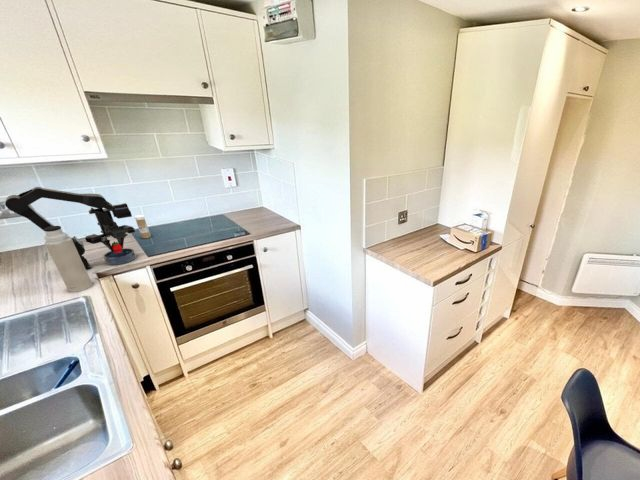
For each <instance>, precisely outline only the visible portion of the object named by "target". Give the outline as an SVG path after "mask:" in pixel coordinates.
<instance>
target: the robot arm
mask: <svg viewBox="0 0 640 480" xmlns="http://www.w3.org/2000/svg"><path fill="white" fill-rule="evenodd" d="M40 199H49V200H56V201H63V202H71V203H78V204H82V205H85V206H88V207H90V209H89V210H88V214H89V215H93V214H94V216H95V218H96V220H97V221H96V224H97V226H99V228H100V233H101V234H96V233H93V234H90V235H89V234H88V235H86V236H85V238H84V239H85V241H86V243H89V244H92V245H94V244H98V243H102V244H103V245H104V246H105V247H106V248H107V249H108V250H109V251H112V252H113V248H112V243H111V241H110V239H108V238H111V237H112V238H113V239H116V241H117V242H118V244H120V245H121V246H122V249H124V243H125V238H126V237H127V236H128V235H129V234H133V233H135V232H136V229H135V227H134V226H131V225H127V224H124V225H118V224H117V222H116V221H114V218H116V219H118V220H120V219H126V218H132V216H133V215H132V212H131V210H130V208H129V207H128V204H127V203H125V202H123V203H119V204H112V203H111V202H109V201H108V200H106V198H105V197H104V196H103V195H102V194H100V193H77V192H71V191H64V190H57V189H52V188H45V187H42V186H35V187H33V188H31V189H29V190H26V191H23V192H20V193H19V194H10V195H8V196H7V197H6V199H5V203H4V205H5V207H6V208H7V209H8V210H9V211H11V212H13V213H15V214H17V215H18V216H20V217H23V218H25V219H27V220H29V221H30V222H32V223H33V224H34V225H35V226H37V227H38V228H39V229H41V230H42V231H43V232H45V231H44V228H46V227H50V226H55V224H53V223H51V221H50V220H48V219H46V218H45V217H43V216H42V215H41V214H40V213H39V212H37V211H36V209H35V208H34V207H33V206H32V204H34V203H35V202H37V201H38V200H40ZM68 237H70V238H71V239H72V241H73V243H74V245H75V247H76V249H77V251H78V254H79V256H80V258H81V260H82V262H83V264H84V267H85V269H86V271H88V270H90V269H92V267H91V266H90V264H89V261H88V259H87V258H86V257H85V256H84V254H85V252H86V249H85V245H84V242H83V241H82V240H80V239H78V238H77V236H75V235H74V236H72V237H71V236H69V235H68Z"/></svg>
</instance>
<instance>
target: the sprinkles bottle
mask: <svg viewBox="0 0 640 480" xmlns="http://www.w3.org/2000/svg"><path fill="white" fill-rule="evenodd" d="M134 220H135V221H136V224H137V228H138V231H139V233H140V237H141V239H149V238H151V237H152V236H151V233H150V230H149V227H148V224H147V222H146V217H145V215H144V214H137V215H134Z"/></svg>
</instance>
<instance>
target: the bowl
mask: <svg viewBox="0 0 640 480" xmlns="http://www.w3.org/2000/svg"><path fill="white" fill-rule="evenodd" d="M102 257H103V259H104V262H105V263H106V264H107V265H112V266H113V265H114V266H115V265H123V264H126V263H130V262H131V261H133V260H135V259H136V258H137V255H136V252H135V249H134V248H128V247H127V248H125V247H123V248H122V252H120V253H114V251H113V252H112V251H111V250H109V251H107V252H105V253H104V254H103V256H102Z"/></svg>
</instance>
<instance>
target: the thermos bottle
mask: <svg viewBox="0 0 640 480" xmlns="http://www.w3.org/2000/svg"><path fill="white" fill-rule="evenodd" d="M43 232H44V233H45V236H43V237H44V245H45V247H46V250H47V251H48V253H49V255H50V257H51V260H52V261H53V263H54V266H55V267H56V269H57V271H58V272H59V275H60V277H61V279H62V281H63V282H64V284H65V287H66V289H67V290H68V291H69V292H72V293H73V292H74V293H75V292H81V291H84V290H88V289H90V288H91V287H92V286H93V282H92V280H91V277H90V275H89V272H88V270H86V269H85V267H84V264H83V262H82V260H81V258H80V256H79V254H78V251H77V249H76V247H75V245H74V243H73V241H72V239H71V238H72V237H71V236H69V234H67V232H64V231H63V229H62V226H60V225H54V226H50V227H46V228H44V231H43ZM68 236H69V237H68ZM70 237H71V238H70Z"/></svg>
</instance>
